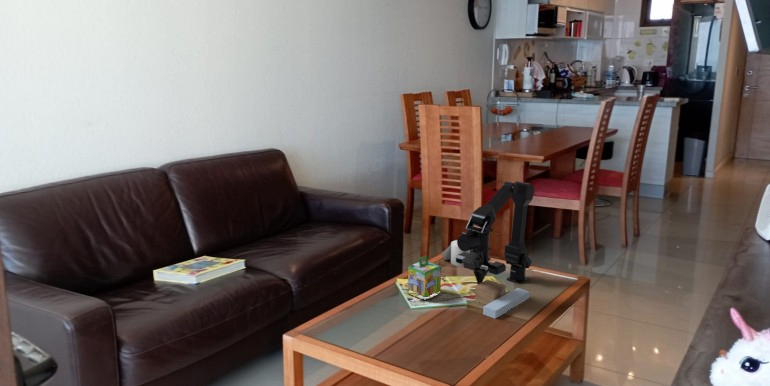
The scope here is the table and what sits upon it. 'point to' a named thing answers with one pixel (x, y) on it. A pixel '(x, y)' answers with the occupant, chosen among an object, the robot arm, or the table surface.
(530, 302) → the table surface
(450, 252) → the toilet tissue
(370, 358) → the table surface
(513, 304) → the pale grey long bar
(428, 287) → the chalk box
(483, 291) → the block
